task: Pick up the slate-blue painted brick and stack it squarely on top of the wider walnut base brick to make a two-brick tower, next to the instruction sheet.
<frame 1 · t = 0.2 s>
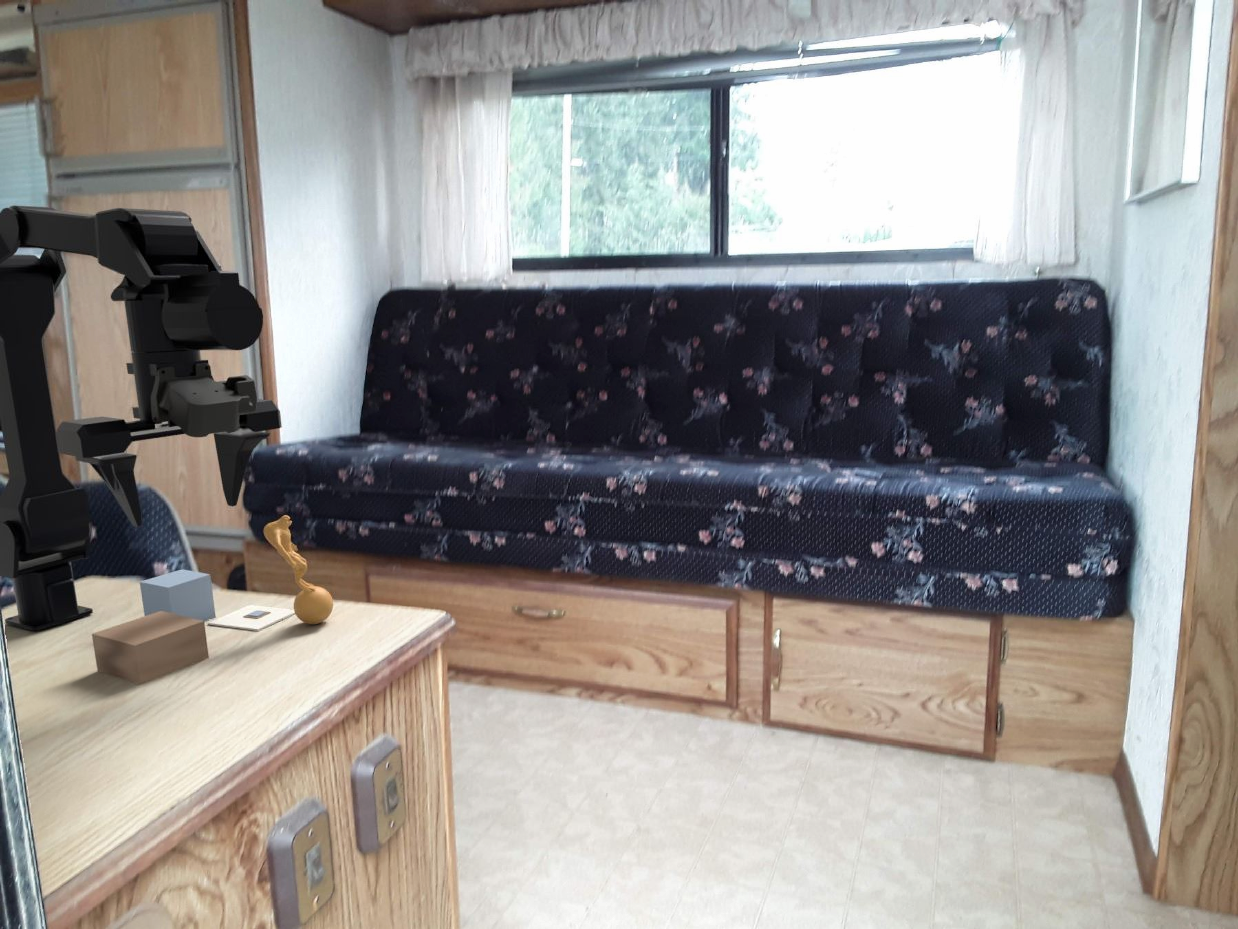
hand: (186, 515, 89), 14 cm above the table, fingers open, 9 cm apart
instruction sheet: (254, 618, 102), on the table
base brick: (154, 667, 90), on the table
blue brick: (181, 622, 102), on the table
figurine: (305, 626, 99), on the table
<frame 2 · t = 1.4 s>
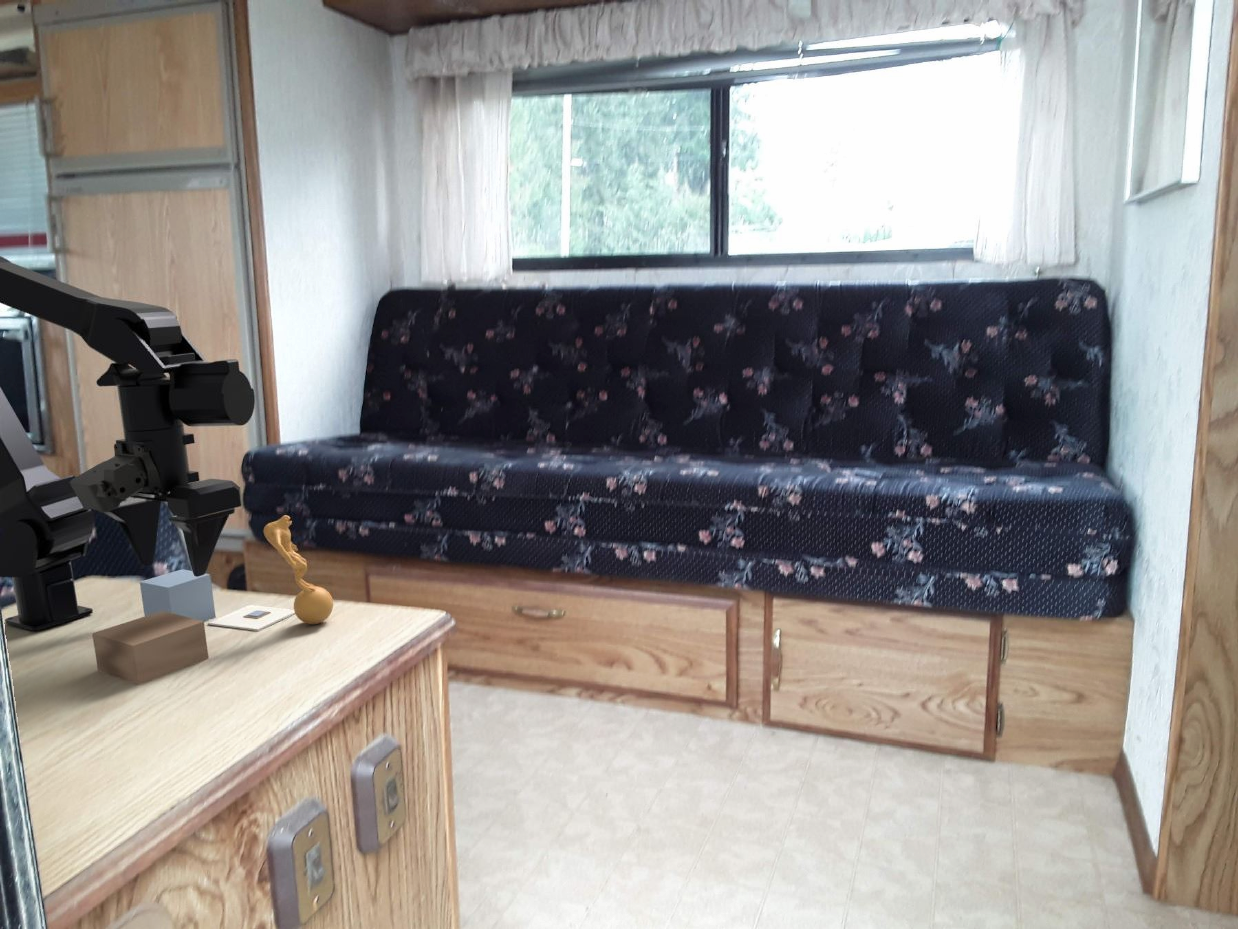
hand: (172, 570, 101), 6 cm above the table, fingers open, 9 cm apart
nothing on the table moved.
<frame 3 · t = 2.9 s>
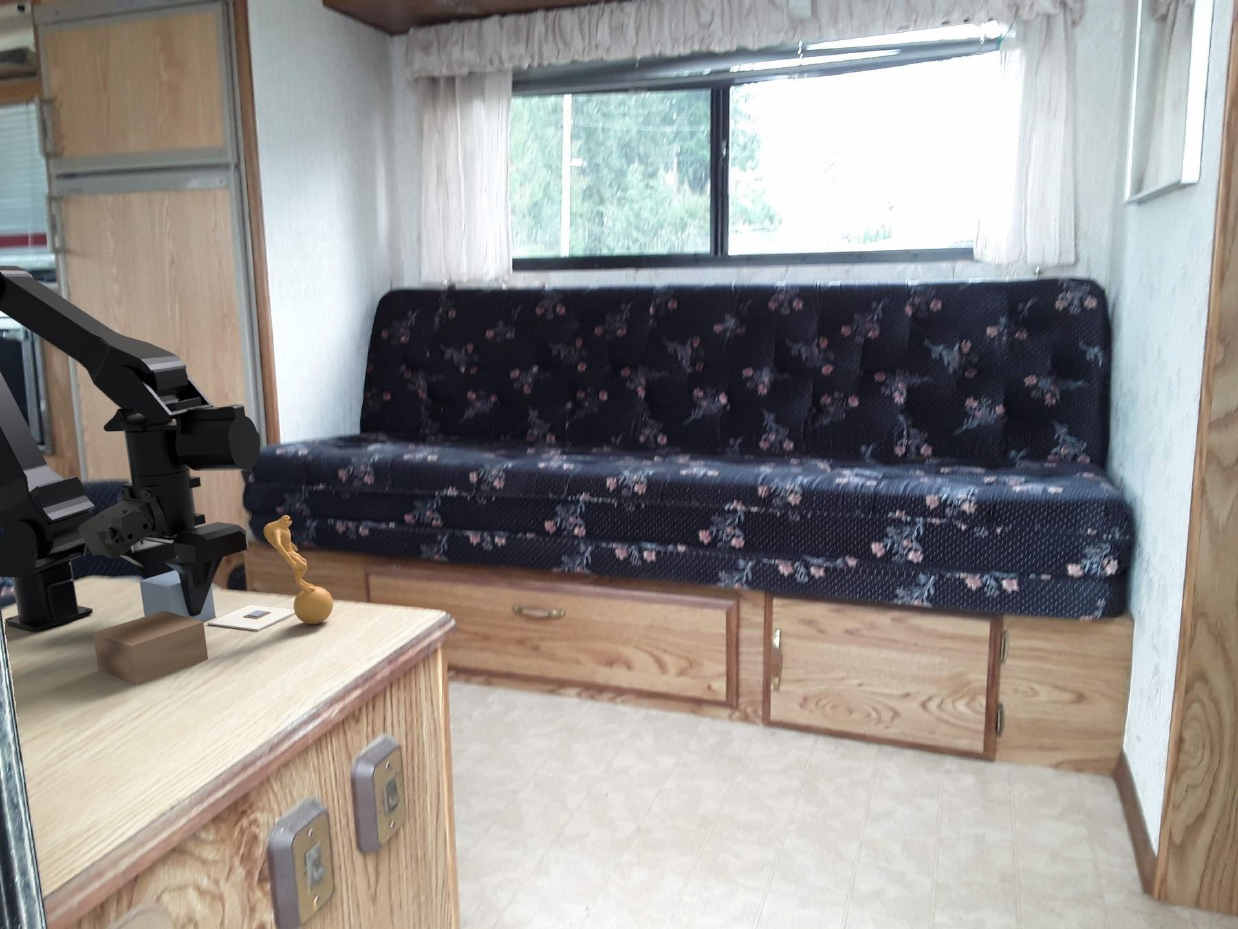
hand: (179, 612, 102), 1 cm above the table, fingers closed on blue brick, 5 cm apart
blue brick: (181, 621, 102), on the table, touching gripper
everything else where it was.
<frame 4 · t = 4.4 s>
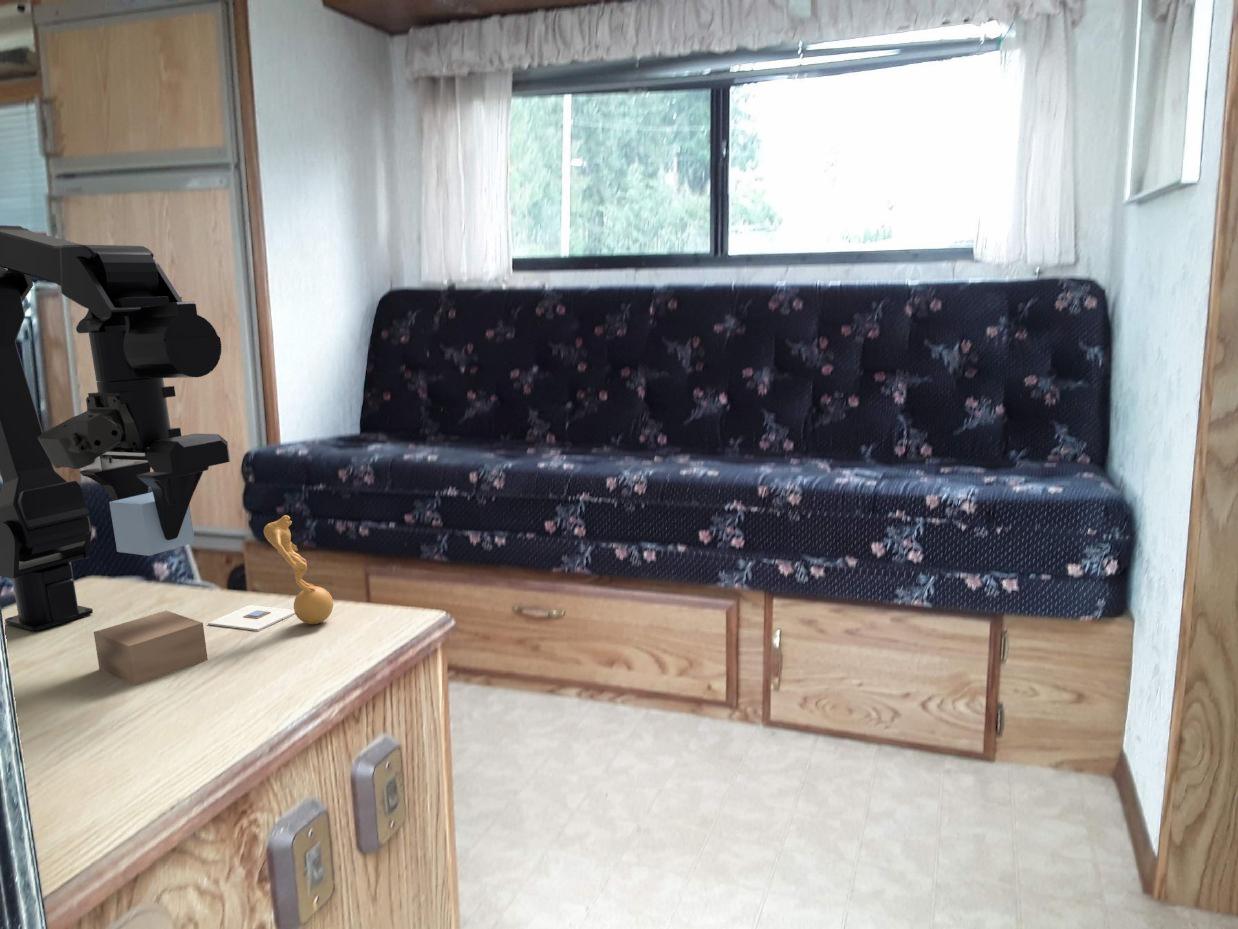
hand: (154, 537, 92), 11 cm above the table, fingers closed on blue brick, 5 cm apart
blue brick: (156, 547, 93), point 10 cm above the table, touching gripper
everything else where it was.
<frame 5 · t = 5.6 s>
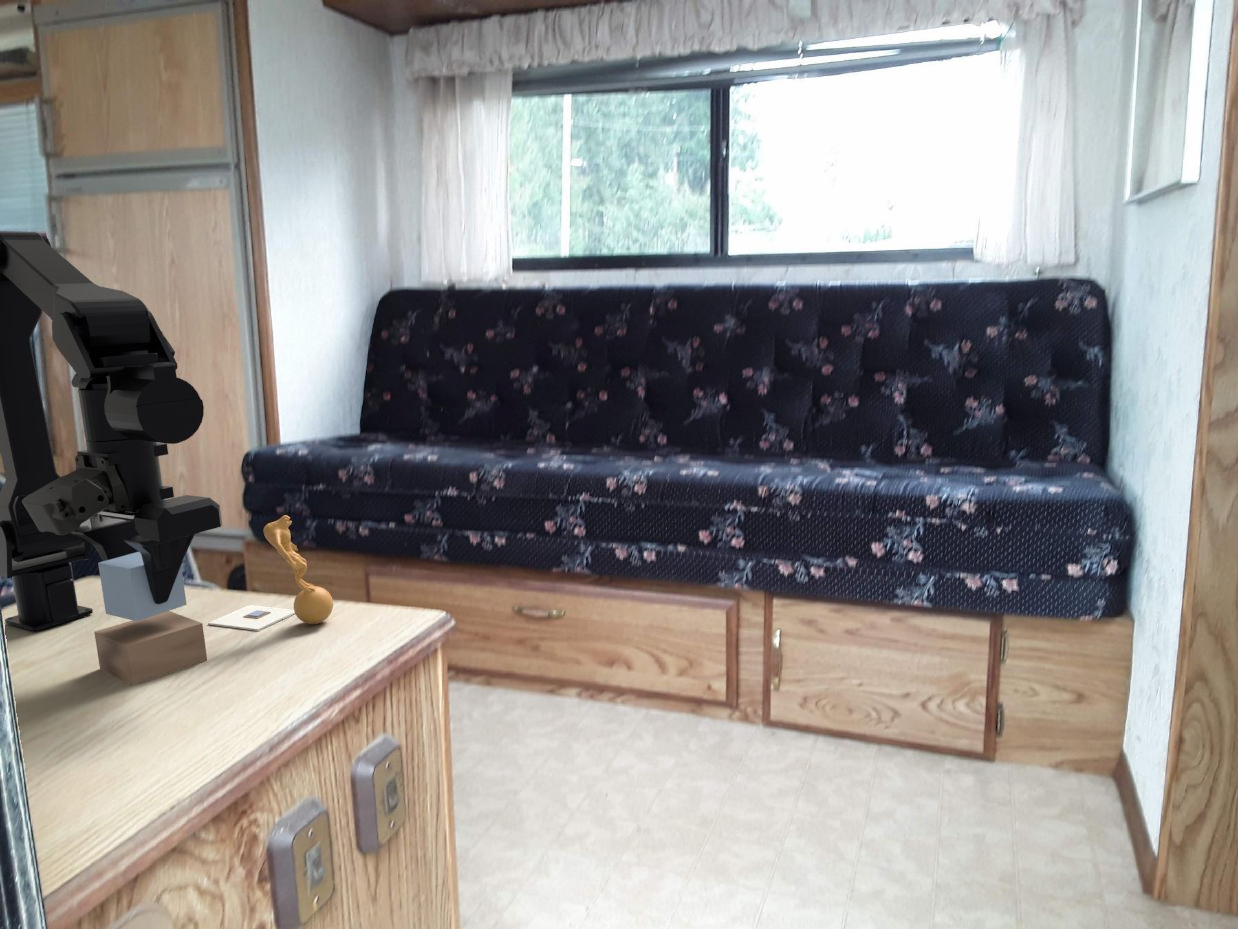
hand: (144, 599, 89), 6 cm above the table, fingers closed on blue brick, 5 cm apart
blue brick: (146, 609, 89), point 5 cm above the table, touching gripper
everything else where it was.
when the fingers open (6 cm above the table, at t = 6.2 s): blue brick drops 2 cm, point 4 cm above the table.
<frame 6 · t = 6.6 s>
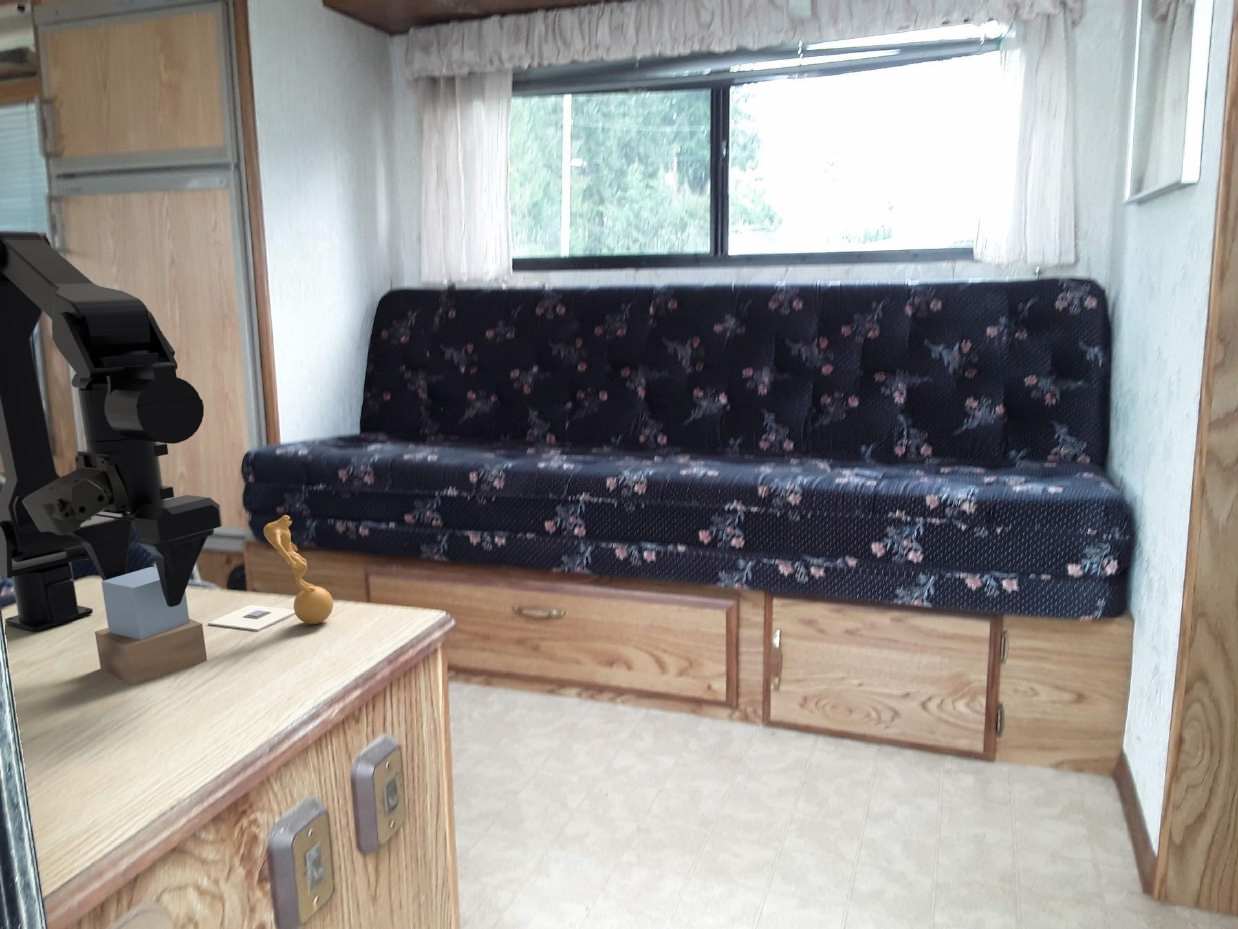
hand: (144, 599, 89), 6 cm above the table, fingers open, 9 cm apart
blue brick: (149, 627, 90), point 4 cm above the table
everything else where it was.
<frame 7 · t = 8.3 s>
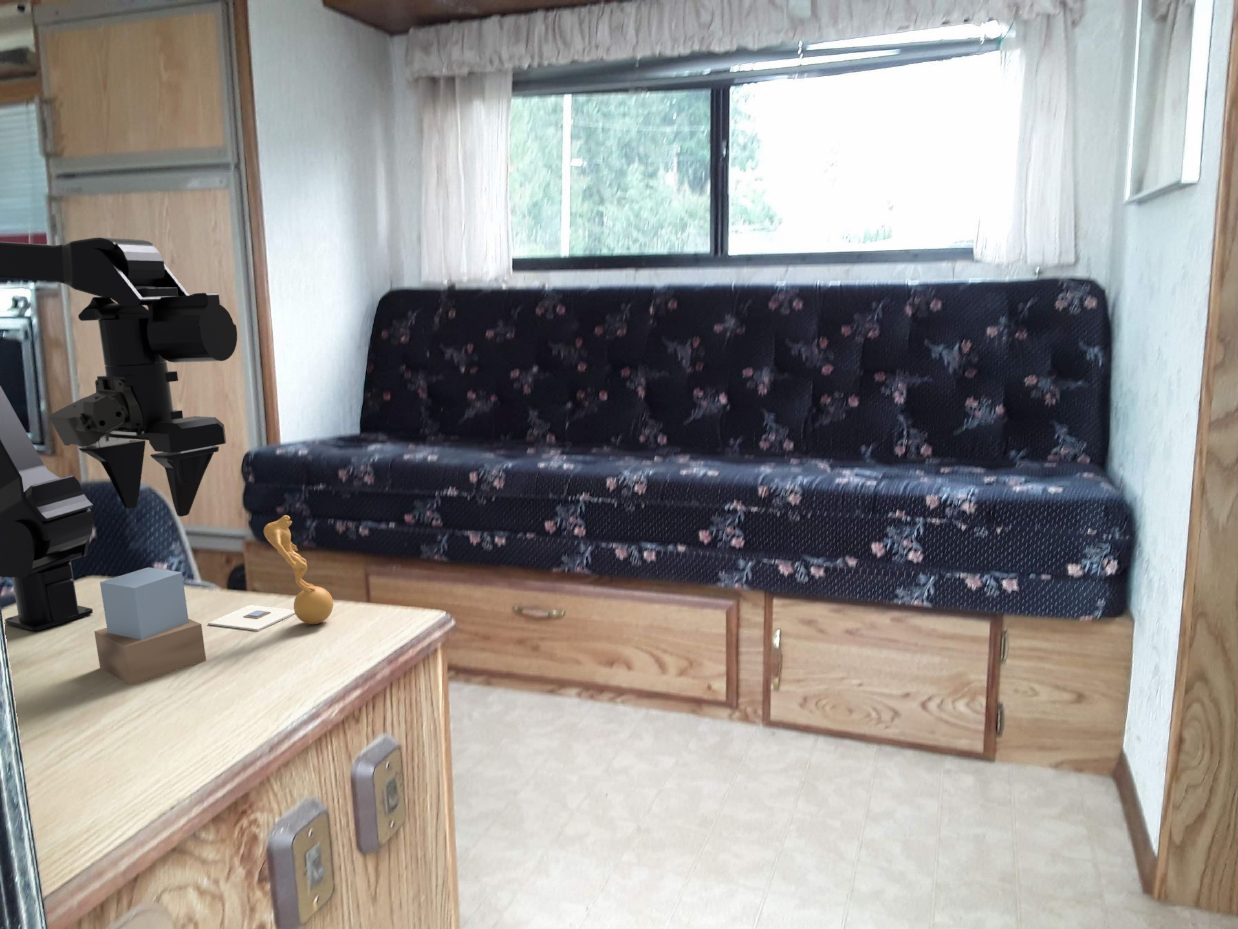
hand: (156, 512, 99), 12 cm above the table, fingers open, 9 cm apart
base brick: (153, 667, 90), on the table, touching blue brick
blue brick: (148, 627, 90), point 4 cm above the table, touching base brick
everything else where it was.
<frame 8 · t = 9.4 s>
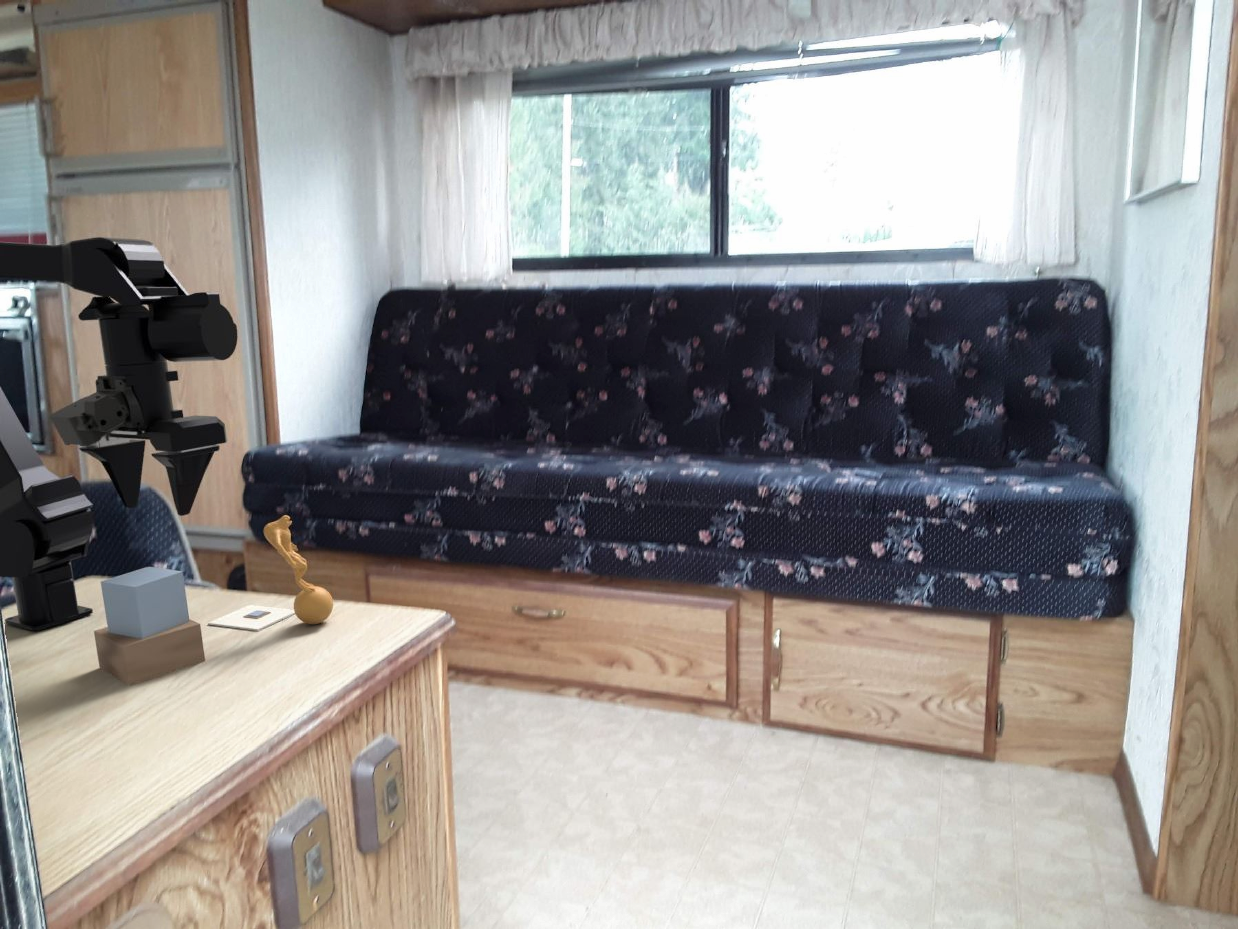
hand: (157, 511, 99), 13 cm above the table, fingers open, 9 cm apart
nothing on the table moved.
at the end: blue brick 0.2 cm off-centre on the base brick, point 4.0 cm above the base brick's base; blue brick tilted 0°; base brick moved 0.4 cm from its start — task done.
